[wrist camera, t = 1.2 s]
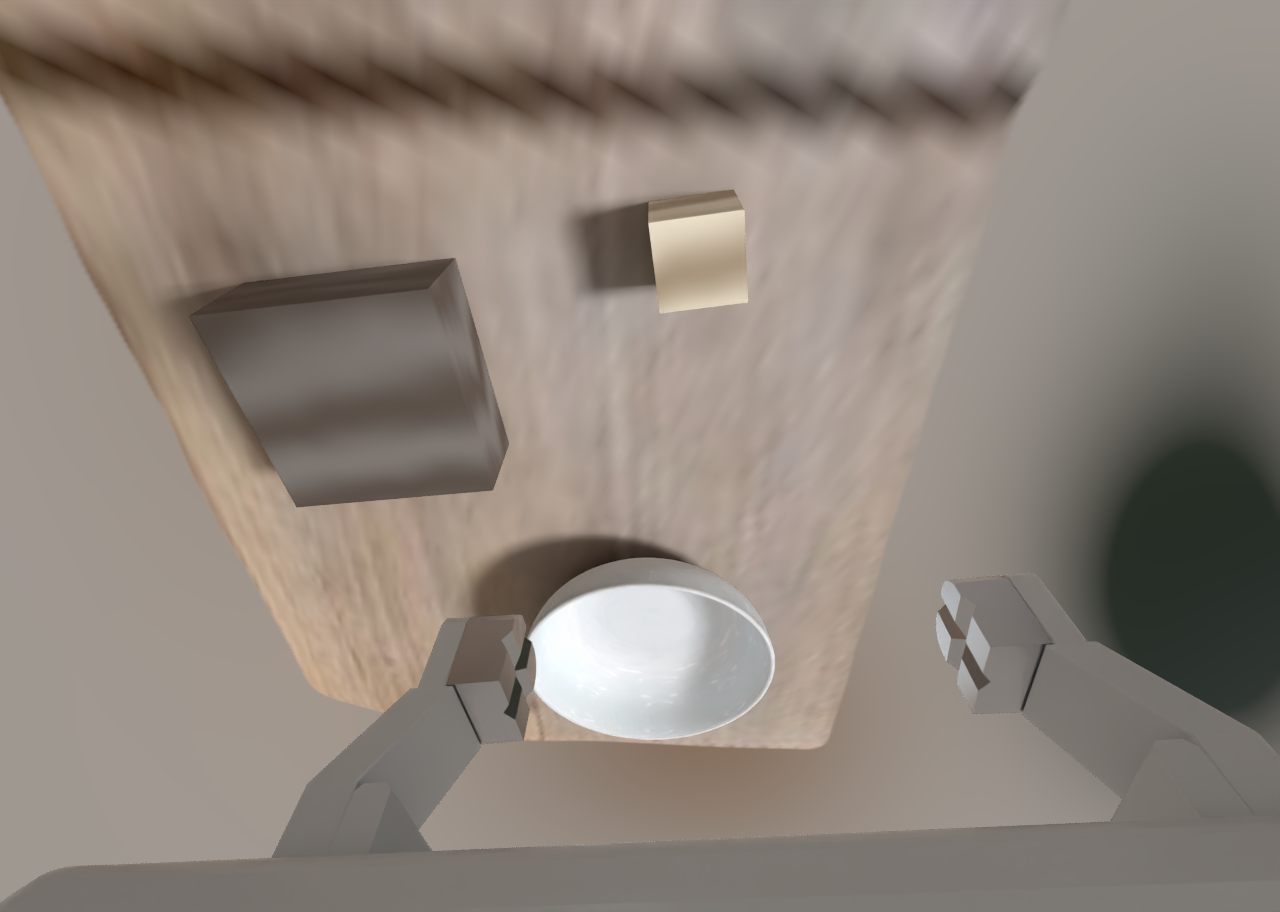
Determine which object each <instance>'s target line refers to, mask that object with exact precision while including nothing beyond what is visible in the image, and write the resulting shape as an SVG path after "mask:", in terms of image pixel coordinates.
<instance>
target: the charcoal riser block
mask: <svg viewBox="0 0 1280 912" xmlns="http://www.w3.org/2000/svg"><path fill="white" fill-rule="evenodd" d="M189 317H190V319H191V321H192V323H193V325H194V326H195V328H196V330H197V332H198V333H199V335H200V337H201V339H202V340H203V342H204V344H205V346H206V348H207V349H208V351H209V353H210V355H211V356H212V358H213V360H214V362H215V363H216V365H217V367H218V369H219V371H220V372H221V374H222V376H223V378H224V379H225V381H226V383H227V385H228V386H229V388H230V390H231V392H232V394H233V395H234V397H235V399H236V401H237V402H238V404H239V406H240V408H241V410H242V411H243V413H244V415H245V417H246V418H247V420H248V422H249V424H250V425H251V427H252V429H253V431H254V433H255V434H256V436H257V438H258V440H259V441H260V443H261V445H262V447H263V448H264V450H265V452H266V454H267V456H268V457H269V459H270V461H271V463H272V464H273V466H274V468H275V470H276V471H277V473H278V475H279V477H280V479H281V480H282V482H283V484H284V486H285V487H286V489H287V491H288V493H289V494H290V496H291V498H292V500H293V502H294V503H295V505H296V507H305V506H317V505H328V504H340V503H352V502H363V501H375V500H386V499H398V498H410V497H421V496H433V495H445V494H456V493H468V492H479V491H491V490H493V488H494V486H495V483H496V480H497V477H498V474H499V471H500V468H501V466H502V463H503V460H504V457H505V454H506V451H507V448H508V446H509V442H508V439H507V435H506V432H505V428H504V425H503V421H502V418H501V414H500V411H499V407H498V404H497V401H496V397H495V394H494V390H493V387H492V383H491V380H490V376H489V373H488V369H487V366H486V362H485V359H484V355H483V352H482V349H481V345H480V342H479V338H478V335H477V331H476V328H475V324H474V321H473V317H472V314H471V310H470V307H469V303H468V300H467V297H466V293H465V290H464V286H463V283H462V279H461V276H460V272H459V269H458V265H457V262H456V258H451V259H443V260H434V261H426V262H417V263H409V264H401V265H392V266H384V267H375V268H367V269H358V270H350V271H341V272H333V273H324V274H316V275H307V276H299V277H290V278H282V279H273V280H265V281H256V282H248V283H243V284H242V285H240V286H238V287H237V288H235V289H233V290H232V291H230V292H228V293H227V294H225V295H223V296H222V297H220V298H218V299H217V300H215V301H213V302H212V303H210V304H208V305H207V306H205V307H203V308H202V309H200V310H198V311H197V312H195V313H193V314H192V315H190V316H189Z"/></svg>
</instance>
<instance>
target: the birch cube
mask: <svg viewBox="0 0 1280 912" xmlns="http://www.w3.org/2000/svg"><path fill="white" fill-rule="evenodd" d="M648 225H649V233H650V241H651V249H652V256H653V264H654V272H655V280H656V288H657V296H658V304H659V312H660V313H667V312H675V311H683V310H691V309H699V308H707V307H714V306H722V305H730V304H738V303H746V302H748V292H747V266H746V240H745V215H744V208H743V206H742V204H741V202H740V201H739V199H738V197H737V195H736V193H735V191H734V190H727V191H721V192H714V193H707V194H700V195H693V196H686V197H679V198H672V199H665V200H658V201H651V202H649V206H648Z"/></svg>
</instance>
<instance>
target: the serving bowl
mask: <svg viewBox="0 0 1280 912" xmlns="http://www.w3.org/2000/svg"><path fill="white" fill-rule="evenodd" d="M527 639H529V640H530V641H532V644H533V647H534V650H535V656H536V679H535V685H534V689H533V690H534V692H535V693H536V694H537V696H538V697H539V698H540V699H541V700H542V701H543V702H544V703H545V704H546V705H547V706H548V707H550V708H551V709H552V710H554V711H555V712H556V713H558V714H559V715H561V716H562V717H564V718H566V719H567V720H569V721H571V722H573V723H575V724H577V725H580V726H582V727H584V728H587V729H590V730H593V731H596V732H600V733H603V734H608V735H612V736H617V737H623V738H631V739H645V740H662V739H673V738H681V737H687V736H692V735H696V734H700V733H704V732H707V731H710V730H713V729H716V728H719V727H721V726H723V725H725V724H728V723H730V722H732V721H733V720H735V719H737V718H739V717H740V716H742V715H743V714H745V713H746V712H747V711H749V710H750V709H751V708H752V707H753V706H754V705H755V704H756V703H757V702H758V701H759V700H760V699H761V698H762V697H763V695H764V694H765V692H766V691H767V689H768V687H769V685H770V683H771V681H772V678H773V674H774V669H775V655H774V650H773V646H772V643H771V640H770V638H769V635H768V633H767V630H766V628H765V626H764V624H763V622H762V620H761V618H760V616H759V615H758V613H757V612H756V610H755V609H754V607H753V606H752V605H751V603H750V602H749V601H748V600H747V599H746V598H745V597H744V595H743V594H742V593H740V592H739V591H738V590H737V589H736V588H735V587H733V586H732V585H731V584H730V583H728V582H727V581H725V580H724V579H722V578H721V577H719V576H717V575H715V574H713V573H712V572H709V571H707V570H705V569H703V568H700V567H697V566H695V565H692V564H688V563H685V562H681V561H676V560H671V559H663V558H631V559H624V560H619V561H614V562H610V563H606V564H603V565H600V566H597V567H595V568H592V569H590V570H588V571H586V572H584V573H582V574H580V575H578V576H576V577H575V578H573V579H571V580H570V581H569V582H567V583H566V584H564V585H563V586H562V587H561V588H560V589H558V590H557V591H556V592H555V593H554V594H553V595H552V596H551V597H550V598H549V599H548V601H547V602H546V603H545V605H544V606H543V607H542V609H541V610H540V612H539V613H538V615H537V617H536V619H535V621H534V622H533V624H532V627H531V629H530V631H529V634H528V636H527Z"/></svg>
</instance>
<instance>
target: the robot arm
mask: <svg viewBox="0 0 1280 912" xmlns="http://www.w3.org/2000/svg"><path fill="white" fill-rule="evenodd" d="M941 596H942V598H943V600H944V602H945V605H944V606H943V607H942V608H941V609H940V610H939V611H938V613H937V620H936V629H937V638H938V642H939V645H940V648H941V651H942V653H943V655H944V657H945V659H946V661H947V662H948V663H949V664H951V665H952V666H954V667H955V668H957V669H958V670H959V674H958V678H957V684H958V686H959V688H960V690H961V692H962V694H963V696H964V698H965V700H966V702H967V704H968V706H969V708H970V710H971V712H972V714H987V713H1017V712H1018V713H1019V712H1023V713H1022V715H1023V716H1024V717H1025V718H1026V719H1028V720H1029V721H1030V722H1031V723H1032V724H1034V725H1035V726H1036V727H1037V728H1038V729H1039V730H1041V731H1042V732H1043V733H1044V734H1045V735H1047V736H1048V737H1049V738H1050V739H1052V740H1053V741H1054V742H1055V743H1056V744H1057V745H1059V746H1060V747H1061V748H1062V749H1064V751H1066V752H1067V753H1068V754H1069V755H1070V756H1072V757H1073V758H1074V759H1075V760H1076V761H1078V762H1079V763H1080V764H1081V765H1083V766H1084V767H1085V768H1086V769H1087V770H1089V772H1091V773H1092V774H1093V775H1094V776H1095V777H1097V778H1098V779H1099V780H1100V781H1101V782H1103V783H1104V784H1105V785H1106V786H1108V787H1109V788H1110V789H1111V790H1112V791H1113V792H1115V793H1116V794H1117V795H1118V796H1119V797H1120V798H1122V801H1121V803H1120V804H1119V806H1118V808H1117V810H1116V812H1115V814H1114V815H1113V817H1112V819H1111V821H1110V822H1090V823H1069V824H1045V825H1022V826H998V827H975V828H955V829H954V828H952V829H929V830H907V831H906V830H905V831H882V832H859V833H836V834H813V835H790V836H769V837H745V838H725V839H724V838H723V839H701V840H681V841H680V840H678V841H656V842H633V843H610V844H586V845H565V846H564V845H563V846H542V847H520V848H519V847H518V848H494V849H470V850H451V851H450V850H448V851H432V849H431V848H430V846H429V845H428V843H427V842H426V840H425V839H424V837H423V836H422V834H421V833H420V832H419V829H420V828H421V826H422V825H423V824H424V822H425V821H426V820H427V818H428V817H429V816H430V814H431V813H432V812H433V810H434V809H435V808H436V806H437V805H438V804H439V802H440V801H441V800H442V798H443V797H444V796H445V795H446V793H447V792H448V791H449V789H450V788H451V787H452V785H453V784H454V782H455V781H456V780H457V779H458V777H459V776H460V775H461V773H462V772H463V771H464V769H465V768H466V767H467V765H468V764H469V763H470V761H471V760H472V759H473V757H474V756H475V755H476V754H477V752H478V751H479V750H480V748H481V745H480V744H491V743H503V742H514V741H524V736H525V731H526V726H527V721H528V716H529V711H530V708H529V706H528V703H527V700H526V697H527V696H528V695H529V694H530V693H531V692H532V691H533V689H534V685H535V679H536V656H535V650H534V647H533V644H532V641H530V640H529V639H527V638H526V637H525V632H526V627H527V626H526V624H525V621H524V618H523V616H522V615H519V614H516V615H497V616H478V617H466V618H448V619H447V620H446V621H445V622H444V623H443V624H442V625H441V628H440V631H439V633H438V636H437V639H436V641H435V644H434V646H433V649H432V652H431V654H430V657H429V659H428V662H427V665H426V667H425V670H424V673H423V675H422V678H421V680H420V683H419V686H418V688H412V689H409V690H408V691H407V692H406V693H405V694H404V695H403V696H402V697H401V698H400V699H399V700H398V701H396V702H395V703H394V704H393V705H392V706H391V707H390V708H389V709H388V710H387V711H386V712H385V713H383V714H382V715H381V716H380V717H379V718H378V719H377V720H376V721H375V722H374V723H373V724H372V725H371V726H369V727H368V728H367V729H366V730H365V731H364V732H363V733H362V734H361V735H360V736H359V737H357V739H355V740H354V741H353V742H352V743H351V744H350V745H349V746H348V747H347V748H346V749H345V750H344V751H342V752H341V753H340V754H339V755H338V756H337V757H336V758H335V759H334V760H333V761H331V762H330V763H329V764H328V765H327V766H326V767H325V768H324V769H323V770H322V771H321V772H320V773H318V774H317V775H316V776H315V777H314V778H313V779H312V780H311V781H310V782H309V783H308V784H307V785H306V788H305V790H304V792H303V794H302V796H301V798H300V800H299V802H298V804H297V806H296V808H295V810H294V812H293V814H292V816H291V819H290V821H289V823H288V825H287V827H286V829H285V831H284V833H283V835H282V837H281V839H280V841H279V843H278V846H277V847H276V849H275V851H274V854H273V856H272V858H259V859H237V860H236V859H235V860H212V861H191V862H189V861H188V862H165V863H141V864H118V865H88V866H87V865H86V866H71V867H64V868H59V869H56V870H53V871H50V872H47V873H45V874H43V875H41V876H39V877H38V878H36V879H34V880H33V881H31V882H30V883H28V884H27V885H25V886H24V887H22V888H20V889H19V890H17V891H16V892H14V893H13V894H12V895H10V896H9V897H7V898H6V899H4V900H3V901H2V902H0V912H1280V757H1279V756H1278V755H1277V754H1276V752H1275V751H1274V750H1273V749H1272V748H1271V747H1270V746H1269V745H1268V744H1267V743H1266V741H1265V740H1264V739H1263V738H1262V737H1261V736H1260V735H1259V734H1258V733H1257V732H1255V731H1254V730H1252V729H1250V728H1248V727H1247V726H1245V725H1243V724H1241V723H1240V722H1238V721H1236V720H1234V719H1232V718H1231V717H1229V716H1227V715H1225V714H1224V713H1222V712H1220V711H1218V710H1216V709H1215V708H1213V707H1211V706H1209V705H1207V704H1206V703H1204V702H1202V701H1201V700H1199V699H1197V698H1195V697H1193V696H1192V695H1190V694H1188V693H1186V692H1185V691H1183V690H1181V689H1179V688H1178V687H1176V686H1174V685H1172V684H1170V683H1168V682H1167V681H1165V680H1163V679H1161V678H1160V677H1158V676H1156V675H1155V674H1153V673H1151V672H1149V671H1147V670H1146V669H1144V668H1142V667H1140V666H1139V665H1137V664H1135V663H1133V662H1131V661H1130V660H1128V659H1126V658H1124V657H1123V656H1121V655H1119V654H1117V653H1115V652H1114V651H1112V650H1110V649H1108V648H1107V647H1105V646H1103V645H1101V644H1100V643H1098V642H1087V641H1086V639H1085V638H1084V637H1083V635H1082V634H1081V633H1080V632H1079V630H1078V629H1077V628H1076V626H1075V625H1074V624H1073V622H1072V621H1071V620H1070V618H1069V617H1068V616H1067V614H1066V613H1065V612H1064V610H1063V609H1062V608H1061V606H1060V605H1059V604H1058V602H1057V601H1056V600H1055V599H1054V597H1053V596H1052V595H1051V593H1050V592H1049V591H1048V589H1047V588H1046V587H1045V585H1044V584H1043V583H1042V581H1041V580H1040V579H1039V577H1038V576H1036V575H1035V574H1033V573H1023V574H1012V575H1003V576H999V575H998V576H987V577H976V578H966V579H953V580H946V582H945V583H944V584H943V587H942V592H941Z"/></svg>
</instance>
